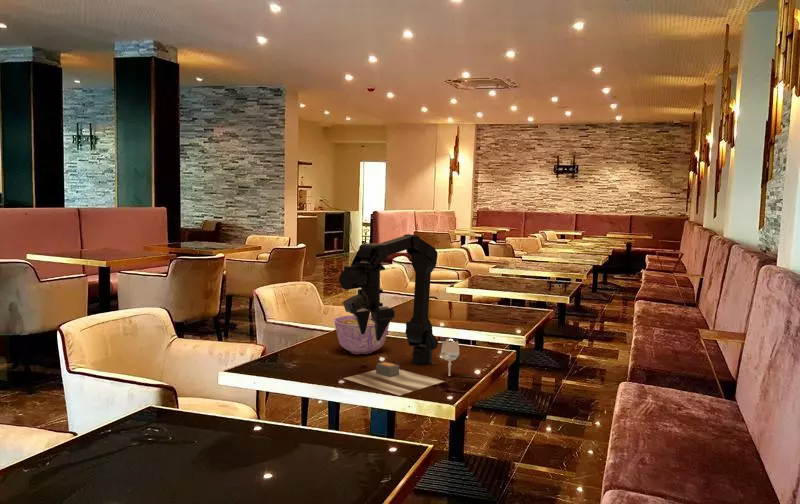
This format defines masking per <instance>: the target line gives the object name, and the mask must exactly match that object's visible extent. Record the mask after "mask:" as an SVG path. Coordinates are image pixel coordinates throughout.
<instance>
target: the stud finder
mask: <svg viewBox="0 0 800 504" xmlns="http://www.w3.org/2000/svg"><path fill="white" fill-rule="evenodd" d="M375 367H376V368H375V370H376V374H380V375H383V376H387V377H393V376H397V375H399V369H400V365H399V364H395V363H392V362H389V361H388V362H387V361H382V362H379V363H376V365H375Z"/></svg>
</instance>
